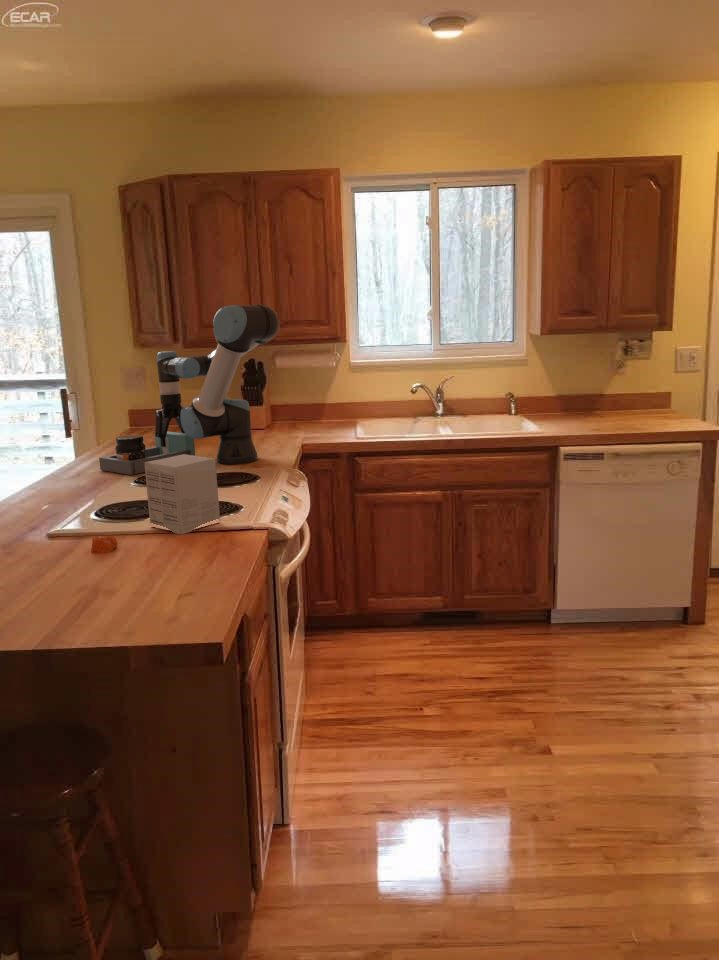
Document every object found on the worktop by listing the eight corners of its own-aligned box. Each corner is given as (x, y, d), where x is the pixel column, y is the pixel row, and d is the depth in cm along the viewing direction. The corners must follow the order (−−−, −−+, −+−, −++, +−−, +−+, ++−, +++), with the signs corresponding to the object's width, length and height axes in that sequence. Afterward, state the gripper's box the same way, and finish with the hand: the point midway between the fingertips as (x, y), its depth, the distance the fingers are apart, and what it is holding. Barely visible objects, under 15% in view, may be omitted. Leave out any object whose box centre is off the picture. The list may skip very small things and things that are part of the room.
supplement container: (116, 473, 276) (113, 440, 273) (118, 468, 286) (114, 435, 283) (147, 471, 278) (144, 438, 276) (148, 465, 288) (144, 433, 286)
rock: (138, 544, 192) (136, 527, 191) (122, 559, 180) (120, 542, 179) (90, 545, 193) (88, 528, 192) (71, 560, 181) (69, 543, 180)
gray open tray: (195, 460, 293) (193, 434, 291) (130, 474, 271) (127, 446, 269) (165, 456, 304) (163, 431, 302) (100, 469, 282) (97, 442, 280)
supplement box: (189, 516, 214) (184, 453, 211) (221, 523, 206) (216, 458, 202) (149, 527, 204) (142, 461, 201) (180, 535, 196) (174, 467, 192)
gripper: (185, 390, 302) (190, 447, 307) (140, 395, 286) (146, 456, 291) (198, 390, 297) (203, 449, 302) (153, 396, 281) (159, 458, 286)
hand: (175, 453), depth 297 cm, fingers open, 8 cm apart
